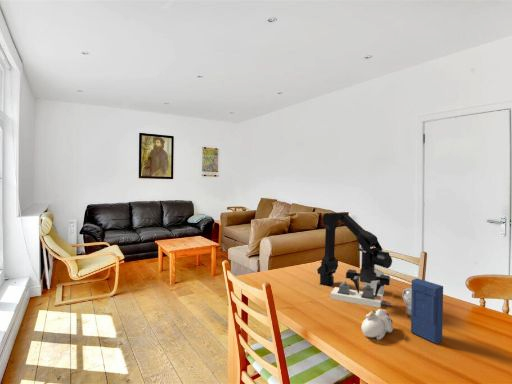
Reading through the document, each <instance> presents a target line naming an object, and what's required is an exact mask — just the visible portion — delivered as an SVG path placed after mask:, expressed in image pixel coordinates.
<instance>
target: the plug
mask: <svg viewBox="0 0 512 384" xmlns="http://www.w3.org/2000/svg"><path fill="white" fill-rule="evenodd" d="M362 292H363V298H367V299H373V300H374V294H375V293H374V288H371V286H370V285H366V287H364V289H363V291H362Z"/></svg>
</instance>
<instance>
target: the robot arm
mask: <svg viewBox="0 0 512 384" xmlns="http://www.w3.org/2000/svg"><path fill="white" fill-rule="evenodd" d="M339 222H341V223H342V224H343V225H344V226H345V227H346V228H347V229H348V230H349V231H350V232H351V233H352V234H353V235H354V236H355V238H356V241H357V243H358V244H359V245H360V247H359V248H358V249H357V251H359V252H361V265H360V267H361V268H360V271H359V272H357V270H356V269H350V268H349V269H348V270H347V271H346V272H345V278H346V279H349V280H350V281H352V282H353V284H354V285H355V290H357V292H358V294H359V291H360V283H363V282H366V283H371V281H376V280H377V281H378V282H377V287H376V292H375V293H374V294H375V297H376V296H377V293H378V291H379V289H380V287H381V286H384V287H385V286H390V283H391V277H390V275H386V274H384V275H382V274H381V276H380V277H379V276H377V274H376V273H375V269H376V268H375V267H376V266H378V267H381V268H384V269H389V268H390V267H391V266H392V263H393V259H392V258H393V257H392V256H391V255H390V252H388V251H383V247H382V246H381V244H380V242H379V240H378V237H377V236H376V235H375V234H373V233H372V232H370V231H368V230H365V229H364V228H363V227H362V226H360V225H361V224H359V223H357V222H356V221H355V220H354V219H353V218H352V216H350V215H349V213H348V212H345V211H343V212H338V213H337V212H335V211H333V212H326V213H324V214H323V215H322V224H323V227H324V228H325V238H324V239H325V241H324V256H323V257H322V259H321V263H320V266H318V268H317V269H316V271H317V274H318V275H319V285H320V286H327V287H332V286H333V285H334V284H335V277H334V274H335V273H336V272H337V271H336V270H338V268H339V260H338V259H337V258H336V257H335V246H336V245H335V242H336V230H337V227H338V226H339Z"/></svg>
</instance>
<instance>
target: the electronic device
mask: <svg viewBox="0 0 512 384" xmlns="http://www.w3.org/2000/svg"><path fill="white" fill-rule="evenodd" d="M411 289H412V297H411V316H410V332H411V333H412V334H415V335H416V336H418V337H421V338H423V339H425V340H427V341H429V342H431V343H434V344H436V345H438V344H439V343H441V342H443V324H444V323H443V319H444V318H443V317H444V286H443V285H440V284H438V283H435V282H431V281H427V280H424V279H420V278H414V279H412V280H411Z"/></svg>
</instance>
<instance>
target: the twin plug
mask: <svg viewBox="0 0 512 384" xmlns="http://www.w3.org/2000/svg"><path fill="white" fill-rule="evenodd" d="M338 287H339V294H345V295H349V291H350V287H351V286H350V284H349V283H347V281H344V280H343V281H342V282H340V284H339V285H338Z"/></svg>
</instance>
